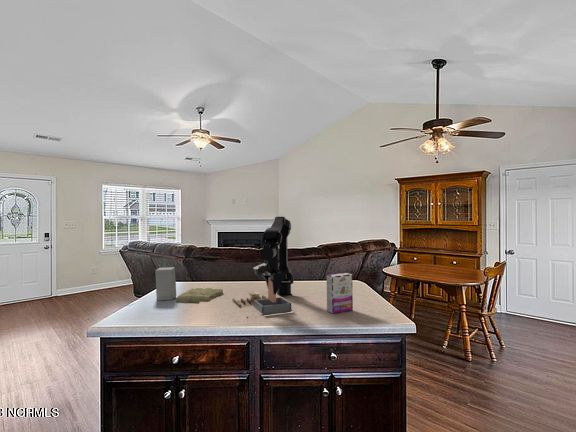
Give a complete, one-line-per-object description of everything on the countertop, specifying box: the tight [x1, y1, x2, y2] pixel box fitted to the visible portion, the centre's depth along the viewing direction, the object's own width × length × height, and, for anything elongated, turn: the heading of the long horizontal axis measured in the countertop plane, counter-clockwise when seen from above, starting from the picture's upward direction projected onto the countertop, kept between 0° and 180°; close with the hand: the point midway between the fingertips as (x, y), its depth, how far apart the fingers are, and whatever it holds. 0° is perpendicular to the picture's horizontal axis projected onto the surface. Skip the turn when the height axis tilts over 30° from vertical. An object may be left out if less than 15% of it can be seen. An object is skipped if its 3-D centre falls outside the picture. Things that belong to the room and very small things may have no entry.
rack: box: [232, 295, 268, 308], centre depth 156 cm, size 16×12×2 cm
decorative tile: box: [175, 287, 224, 303], centre depth 168 cm, size 19×20×4 cm
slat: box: [267, 277, 277, 302], centre depth 146 cm, size 1×6×10 cm, turn 25°
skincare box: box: [155, 266, 177, 301], centre depth 165 cm, size 8×7×16 cm
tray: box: [253, 296, 292, 316], centre depth 145 cm, size 14×12×4 cm
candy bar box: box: [326, 272, 354, 315], centre depth 144 cm, size 11×5×16 cm, turn 117°
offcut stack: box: [248, 291, 262, 304], centre depth 156 cm, size 4×5×4 cm
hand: (272, 292), depth 146 cm, fingers closed on slat, 6 cm apart
